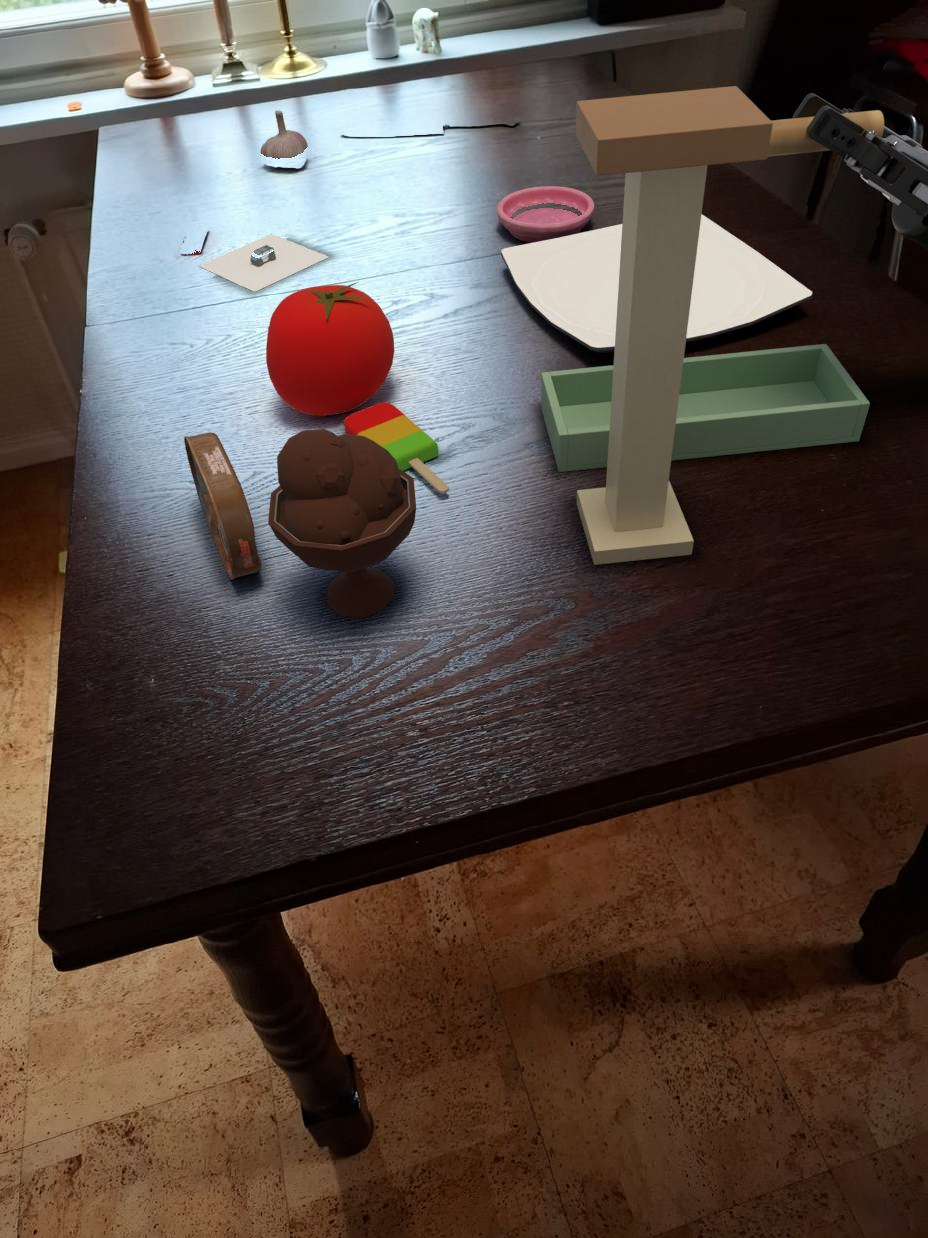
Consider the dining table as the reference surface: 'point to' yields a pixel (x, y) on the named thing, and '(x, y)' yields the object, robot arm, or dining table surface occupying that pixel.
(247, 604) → the dining table surface
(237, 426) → the dining table surface
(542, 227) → the saucer
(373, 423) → the popsicle
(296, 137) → the garlic bulb
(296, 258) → the beige placemat
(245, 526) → the tin
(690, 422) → the tray
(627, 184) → the stand
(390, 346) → the tomato
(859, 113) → the wooden rod
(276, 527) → the ice cream bowl
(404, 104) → the dining table surface
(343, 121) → the dining table surface
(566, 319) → the plate
